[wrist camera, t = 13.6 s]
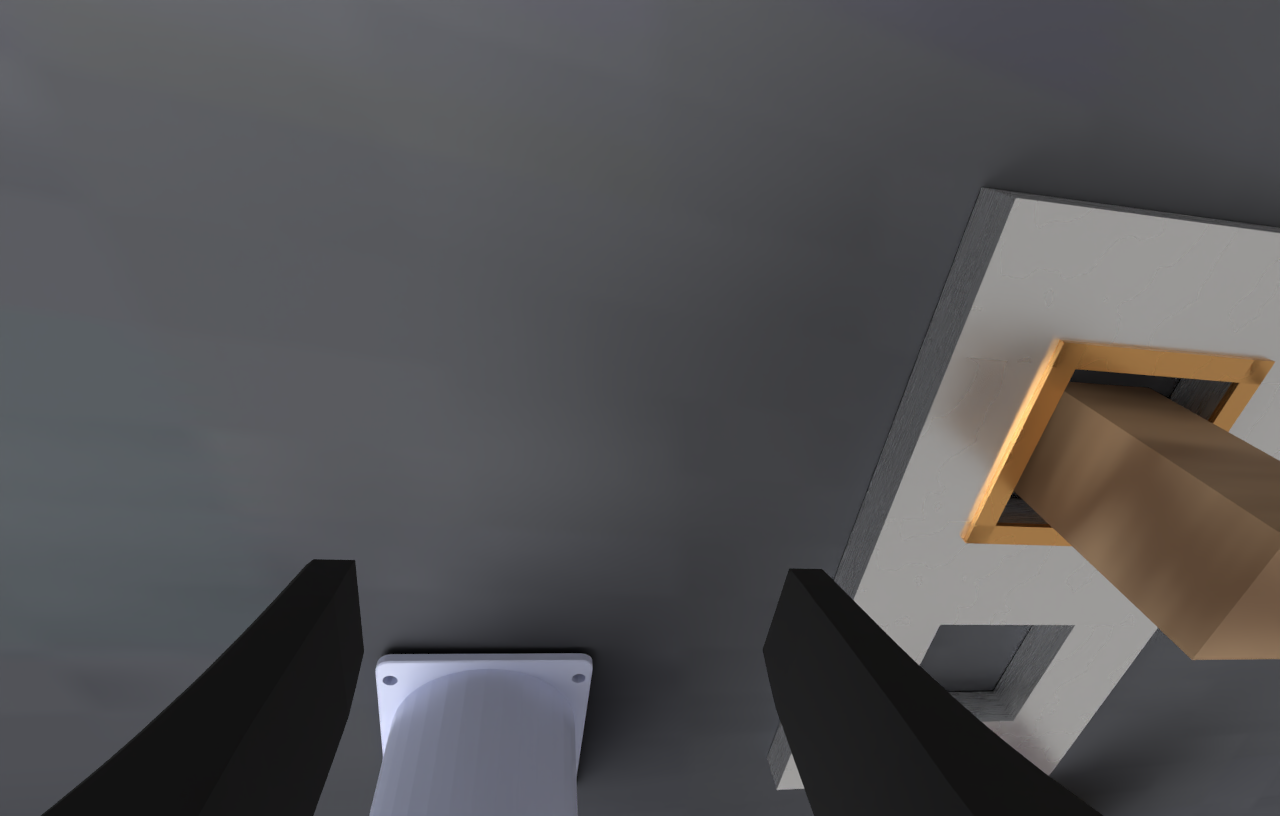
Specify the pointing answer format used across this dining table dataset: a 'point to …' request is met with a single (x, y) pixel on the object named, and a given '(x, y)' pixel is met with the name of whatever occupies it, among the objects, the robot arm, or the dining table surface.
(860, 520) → the rail
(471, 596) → the dining table surface
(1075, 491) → the walnut peg
